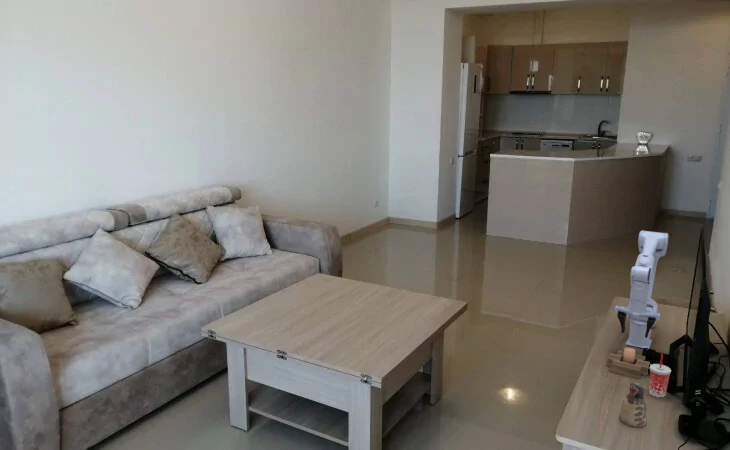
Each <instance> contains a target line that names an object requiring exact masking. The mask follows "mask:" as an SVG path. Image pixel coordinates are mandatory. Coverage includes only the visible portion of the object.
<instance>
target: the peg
mask: <svg viewBox="0 0 730 450" xmlns="http://www.w3.org/2000/svg"><path fill="white" fill-rule="evenodd" d="M623 351H624V357H623V362H626V363H630V364H634V358H635V354H636V349H634V348H632V347H624V349H623Z"/></svg>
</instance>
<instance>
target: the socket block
mask: <svg viewBox="0 0 730 450" xmlns="http://www.w3.org/2000/svg"><path fill="white" fill-rule="evenodd" d="M623 357H624V350H623V351H622V350H619V349H618V350H617V352H616V353H611V352H610V353H609V354H608V355H607V359H606V367H609V368H610V371H609V372H610V373H613V374H616V375H617V374H618V375H621V376H625V377H629V378H634V379H636V380H637V379H638V380H639V379H640V377H641V375H642V374H643V375H642V376H646V375H647V376H648V374H649V372H648V369H649V370H650V367H649V365H651V362H650V361H647V360H646V356H645V355H641V354H636V353H635V358H634V364H630V363H626V362H623ZM644 360H645V361H644Z"/></svg>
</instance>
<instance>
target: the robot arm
mask: <svg viewBox="0 0 730 450" xmlns="http://www.w3.org/2000/svg"><path fill="white" fill-rule="evenodd" d="M637 243H638V250H639V254H638V256H637V257H636V261H635V264H634V266H632V267H631V270H630V277H629V278H630V294H629V303H628V305H627V306H621V305H616V306H615V307H614V313H617V315H616V316H617V319H618V320H619V324H620V328H621V334H625V331H626V320H629V322H630V324H629V334H628V338H627V340H626V342H625V345H626V346H632V347H636V348H640V349H644V348H648V349H647V350H649V349H650V347H651V345H652V342H653V339H652V338H651V333H652V328H651V327H652V326H653V324H654V323H655V322H656V323H657V321H660V319H661V313H659V312H658V308H659V307H658V303H657V302H656V301H655V300H654V299H652V295H653V289H654V285H655V284H654V282H655V278H656V272H657V265H658V261H659V259H660V258H661V257H664V256H666V253H667V248H668V243H669V233H668V232H657V231H648V230H643V229H642V230H641V231H639V234H638V240H637ZM626 318H627V319H626ZM650 338H651V339H650Z"/></svg>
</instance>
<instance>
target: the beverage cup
mask: <svg viewBox="0 0 730 450" xmlns="http://www.w3.org/2000/svg"><path fill="white" fill-rule="evenodd" d="M663 358H664V353H663V352H662V353H661V354H660V360H659V361H660V362H659V363H653V364H652V363H651V364H650V367H649V388H648V389H649V390H648V392H649V395H650V396H652V395H653V396H652V397H655V396H656V397H655V398H659V397H663V398H665V397H666V394H667V389H668V384H669V379H670V376H671V375H670V374H671V372H672V370H671V368H670V367H669V366H667V365H664V364H663ZM664 396H665V397H664Z"/></svg>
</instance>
